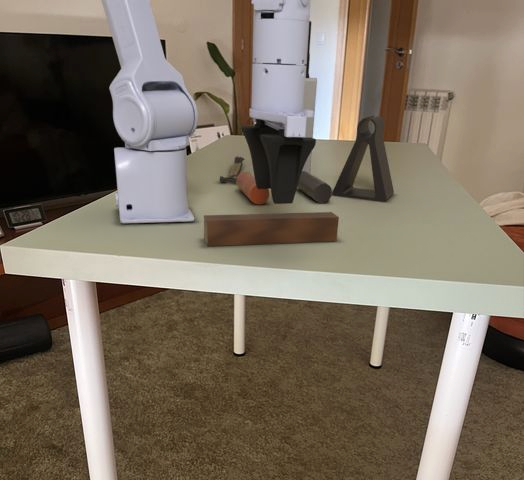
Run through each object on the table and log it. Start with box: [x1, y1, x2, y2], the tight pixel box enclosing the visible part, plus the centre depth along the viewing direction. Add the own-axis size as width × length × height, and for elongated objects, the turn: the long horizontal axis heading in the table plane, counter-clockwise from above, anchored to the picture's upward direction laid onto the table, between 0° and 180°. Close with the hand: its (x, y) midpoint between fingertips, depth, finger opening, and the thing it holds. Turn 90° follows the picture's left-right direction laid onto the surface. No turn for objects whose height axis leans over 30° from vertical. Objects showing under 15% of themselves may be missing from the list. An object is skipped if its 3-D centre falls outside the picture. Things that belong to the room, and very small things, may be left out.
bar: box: [203, 211, 340, 247], centre depth 67 cm, size 16×2×3 cm, turn 104°
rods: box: [235, 171, 333, 206], centre depth 88 cm, size 13×10×3 cm
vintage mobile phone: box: [302, 20, 318, 174], centre depth 96 cm, size 4×5×25 cm
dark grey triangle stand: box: [332, 115, 395, 203], centre depth 89 cm, size 9×6×12 cm, turn 66°
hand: (273, 195), depth 65 cm, fingers open, 7 cm apart
